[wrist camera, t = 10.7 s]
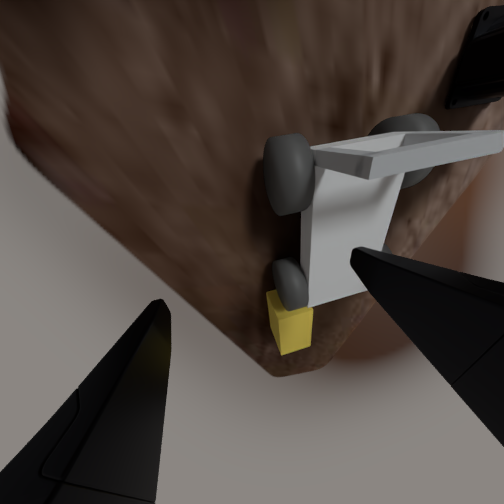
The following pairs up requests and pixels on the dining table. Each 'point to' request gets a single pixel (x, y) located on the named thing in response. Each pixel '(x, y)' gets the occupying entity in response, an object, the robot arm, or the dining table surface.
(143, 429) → the robot arm
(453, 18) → the dining table surface
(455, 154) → the trolley
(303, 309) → the block
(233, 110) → the dining table surface
